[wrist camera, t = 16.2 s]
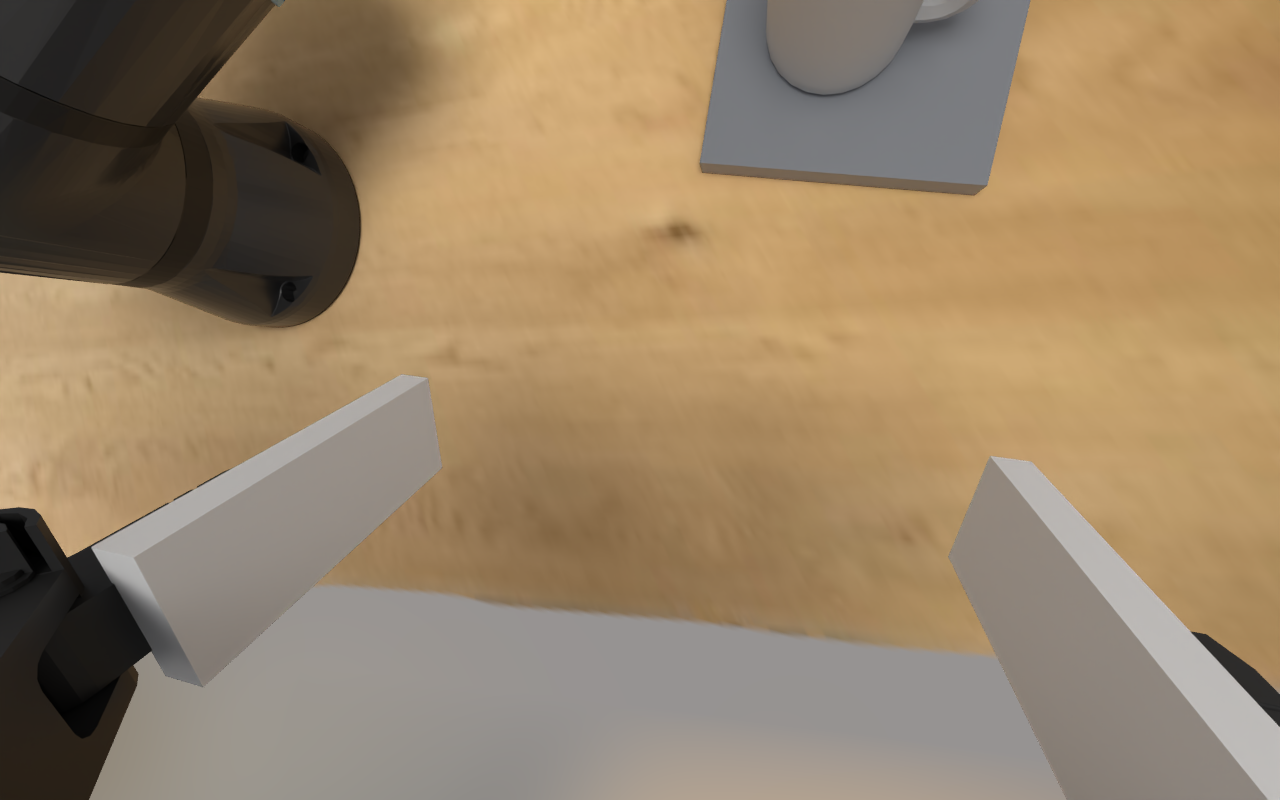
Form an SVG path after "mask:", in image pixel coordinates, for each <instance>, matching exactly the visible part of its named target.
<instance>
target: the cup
mask: <svg viewBox="0 0 1280 800" xmlns="http://www.w3.org/2000/svg"><path fill="white" fill-rule="evenodd" d="M977 1H979V0H768V1H767V25H766V38H767V45H768V49H769V54H770V58H771V60H772V62H773V64H774V65H775V67H776V69H777V71H778V73H779V74H780V75H781V76H782V77H784V78H785V79H786V80H787V81H788V82H789V83H790V84H791V85H793V86H795V87H797V88H799V89H801V90H803V91H805V92H810V93H815V94H821V95H827V94H838V93H843V92H846V91H849V90H852V89H855V88H858V87H860V86H862V85H863V84H865V83H867V82H868V81H870V80H871V79H873V78H874V77H876V76H877V75H878V74H879V73H880V72H881V71H882V70H883V69H884V68H885V67H886V66H887V65H888V64H889V63H890V62H891V61H892V60H893V58H894V56H895V55H896V53H897V52H898V50H899V48H900V47H901V45H902V43H903V42H904V40H905V38H906V36H907V34H908V32H909V30H910V28H911V26H912V25H913V23H928V22H933V21H938V20H943V19H947V18H949V17H951V16H953V15H956V14H958V13H960V12H963V11H965V10H966V9H968V8H969V7H970V6H972V5H973V4H975V3H976V2H977Z"/></svg>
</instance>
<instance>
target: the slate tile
mask: <svg viewBox="0 0 1280 800" xmlns="http://www.w3.org/2000/svg"><path fill="white" fill-rule="evenodd" d="M767 1H768V0H727V2H726V8H725V14H724V20H723V26H722V32H721V38H720V45H719V51H718V57H717V63H716V69H715V75H714V81H713V87H712V93H711V99H710V105H709V111H708V117H707V123H706V129H705V135H704V141H703V147H702V153H701V159H700V165H701V169H702V173H714V174H726V175H738V176H750V177H762V178H774V179H786V180H798V181H810V182H822V183H834V184H846V185H858V186H870V187H882V188H894V189H906V190H918V191H930V192H942V193H954V194H966V195H975V194H976V193H978V192H979V191H980V190H982V189H983V188H985V187H986V186H987V184H988V180H989V176H990V171H991V167H992V163H993V159H994V154H995V150H996V146H997V141H998V137H999V133H1000V129H1001V124H1002V120H1003V116H1004V111H1005V107H1006V103H1007V98H1008V94H1009V90H1010V86H1011V81H1012V77H1013V73H1014V68H1015V64H1016V60H1017V56H1018V51H1019V47H1020V43H1021V38H1022V34H1023V30H1024V26H1025V21H1026V17H1027V13H1028V8H1029V4H1030V0H979V1H977V2H976V3H975V4H973V5H972V6H970V7H969V8H968V9H966V10H965V11H963V12H960V13H958V14H956V15H953V16H951V17H949V18H947V19H943V20H938V21H933V22H928V23H913V25H912V26H911V28H910V30H909V32H908V34H907V36H906V38H905V40H904V42H903V43H902V45H901V47H900V48H899V50H898V52H897V53H896V55H895V56H894V58H893V60H892V61H891V62H890V63H889V64H888V65H887V66H886V67H885V68H884V69H883V70H882V71H881V72H880V73H879V74H878V75H877V76H876V77H874V78H873V79H871V80H870V81H868V82H867V83H865V84H863V85H862V86H860V87H858V88H855V89H852V90H849V91H846V92H843V93H838V94H827V95H821V94H815V93H810V92H805V91H803V90H801V89H799V88H797V87H795V86H793V85H791V84H790V83H789V82H788V81H787V80H786V79H785V78H784V77H782V76H781V75H780V74H779V73H778V71H777V69H776V67H775V65H774V64H773V62H772V60H771V58H770V54H769V49H768V45H767V38H766V25H767Z"/></svg>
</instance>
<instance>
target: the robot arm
mask: <svg viewBox="0 0 1280 800" xmlns="http://www.w3.org/2000/svg"><path fill="white" fill-rule="evenodd" d="M284 1H285V0H0V272H1V273H10V274H19V275H29V276H38V277H47V278H57V279H66V280H75V281H84V282H94V283H103V284H114V285H122V286H130V287H138V288H145V289H149V290H152V291H155V292H157V293H160V294H162V295H165V296H167V297H170V298H172V299H175V300H178V301H180V302H183V303H185V304H188V305H190V306H193V307H195V308H198V309H201V310H203V311H206V312H208V313H211V314H213V315H216V316H218V317H221V318H224V319H226V320H229V321H232V322H236V323H241V324H246V325H255V326H268V327H288V326H294V325H298V324H301V323H303V322H306V321H308V320H310V319H312V318H314V317H315V316H317V315H318V314H320V313H321V312H322V311H323V310H325V309H326V308H327V307H328V306H329V305H330V304H331V303H332V302H333V301H334V299H335V298H336V297H337V296H338V294H339V293H340V291H341V290H342V288H343V287H344V285H345V283H346V281H347V279H348V277H349V275H350V272H351V270H352V267H353V264H354V261H355V257H356V253H357V248H358V241H359V210H358V203H357V198H356V194H355V190H354V187H353V184H352V181H351V179H350V176H349V174H348V172H347V170H346V168H345V166H344V164H343V162H342V161H341V159H340V158H339V156H338V155H337V154H336V152H335V151H334V150H333V149H332V148H331V146H330V145H329V144H328V143H327V142H326V141H325V140H323V139H322V138H321V137H320V136H318V135H317V134H315V133H314V132H312V131H311V130H309V129H307V128H305V127H303V126H301V125H299V124H297V123H295V122H294V121H292V120H290V119H288V118H286V117H284V116H282V115H279V114H277V113H274V112H271V111H268V110H265V109H260V108H255V107H249V106H244V105H238V104H232V103H226V102H221V101H215V100H209V99H203V98H197V96H198V95H199V94H200V93H201V91H202V90H203V89H204V88H205V87H206V85H207V84H208V83H209V82H210V80H211V79H212V78H213V77H214V76H215V75H216V73H217V72H218V71H219V70H220V69H221V68H222V66H223V65H224V64H225V63H226V62H227V61H228V59H229V58H230V57H231V56H232V55H233V54H234V52H235V51H236V50H237V49H238V48H239V47H240V45H241V44H242V43H243V42H244V41H245V40H246V38H247V37H248V36H249V35H250V34H251V33H252V31H253V30H254V29H255V28H256V27H257V26H258V24H259V23H260V22H261V21H262V20H263V19H264V17H265V16H266V15H267V14H268V13H269V12H270V10H271V9H272V8H273V7H274V6H275V5H277V6H278V7H280V6H281V5H282V4H283V3H284ZM441 468H442V463H441V456H440V450H439V444H438V438H437V431H436V425H435V419H434V413H433V406H432V400H431V394H430V388H429V381H428V378H425V377H418V376H410V375H403V374H401V375H400V376H398V377H396V378H394V379H392V380H391V381H389V382H387V383H385V384H383V385H382V386H380V387H378V388H376V389H374V390H373V391H371V392H369V393H367V394H365V395H364V396H362V397H360V398H358V399H356V400H355V401H353V402H351V403H349V404H347V405H346V406H344V407H342V408H340V409H338V410H337V411H335V412H333V413H331V414H329V415H328V416H326V417H324V418H322V419H320V420H319V421H317V422H315V423H313V424H311V425H310V426H308V427H306V428H304V429H302V430H301V431H299V432H297V433H295V434H293V435H292V436H290V437H288V438H286V439H284V440H283V441H281V442H279V443H277V444H275V445H274V446H272V447H270V448H268V449H266V450H265V451H263V452H261V453H259V454H257V455H256V456H254V457H252V458H250V459H248V460H247V461H245V462H243V463H241V464H239V465H238V466H236V467H234V468H232V469H229V470H227V471H224V472H223V473H221V474H219V475H217V476H215V477H214V478H212V479H210V480H208V481H206V482H204V483H203V484H201V485H199V486H197V488H196V489H194V490H190V491H188V492H186V493H185V494H183V495H181V496H179V497H177V498H176V499H174V501H173V502H171V503H167V504H165V505H163V506H161V507H159V508H157V509H156V510H154V511H152V512H150V513H148V514H147V515H145V516H143V517H141V518H139V519H138V520H136V521H134V522H132V523H130V524H129V525H127V526H125V527H123V528H121V529H120V530H118V531H116V532H114V533H112V534H110V535H109V536H107V537H105V538H103V539H101V540H100V541H98V542H96V543H94V544H92V545H91V546H89V547H87V548H85V549H83V550H82V551H80V552H78V553H76V554H74V555H72V556H70V557H68V558H67V557H66V555H65V554H64V552H63V551H62V549H61V547H60V546H59V544H58V542H57V541H56V539H55V538H54V536H53V534H52V533H51V531H50V529H49V528H48V526H47V525H46V523H45V521H44V520H43V518H42V516H41V515H40V514H39V513H38V512H37V511H36V510H35V509H28V508H20V507H18V508H9V509H0V800H89V798H90V796H91V794H92V791H93V789H94V786H95V784H96V782H97V779H98V777H99V774H100V772H101V770H102V767H103V765H104V763H105V760H106V758H107V755H108V753H109V751H110V748H111V746H112V743H113V741H114V739H115V736H116V734H117V732H118V729H119V727H120V724H121V722H122V720H123V717H124V715H125V713H126V710H127V708H128V705H129V703H130V701H131V698H132V696H133V694H134V691H135V689H136V686H137V681H138V672H137V671H136V669H135V668H134V666H133V665H134V664H135V663H137V662H138V661H139V660H140V659H142V658H143V657H144V656H146V655H147V654H148V653H149V652H152V653H153V655H154V657H155V658H156V660H157V662H158V664H159V665H160V667H161V669H162V670H163V672H164V674H165V676H168V677H171V678H174V679H177V680H181V681H185V682H188V683H191V684H194V685H198V686H201V687H204V686H205V685H206V684H207V683H208V682H209V681H210V680H212V679H213V678H214V677H215V676H216V675H217V674H218V673H219V672H220V671H221V670H222V669H224V667H226V666H227V665H228V664H229V663H230V662H231V661H232V660H233V659H234V658H236V657H237V656H238V655H239V654H240V653H241V652H242V651H243V650H244V649H245V648H246V647H248V646H249V645H250V644H251V643H252V642H253V641H254V640H255V639H256V638H257V637H258V636H260V634H262V633H263V632H264V631H265V630H266V629H267V628H268V627H269V626H270V625H271V624H273V623H274V622H275V621H276V620H277V619H278V618H279V617H280V616H281V615H282V614H283V613H285V612H286V611H287V610H288V609H289V608H290V607H291V606H292V605H293V604H294V603H295V602H296V601H298V600H299V599H300V598H301V597H302V596H303V595H304V594H305V593H306V592H307V591H308V590H310V589H311V588H312V587H313V586H314V585H315V584H316V583H317V582H318V581H319V580H321V579H322V578H323V577H324V576H325V575H326V574H327V573H328V572H329V571H330V570H331V569H332V568H334V567H335V566H336V565H337V564H338V563H339V562H340V561H341V560H342V559H343V558H344V557H346V556H347V555H348V554H349V553H350V552H351V551H352V550H353V549H354V548H355V547H356V546H358V545H359V544H360V543H361V542H362V541H363V540H364V539H365V538H366V537H367V536H368V535H370V534H371V533H372V532H373V531H374V530H375V529H376V528H377V527H378V526H379V525H380V524H382V523H383V522H384V521H385V520H386V519H387V518H388V517H389V516H390V515H391V514H392V513H393V512H395V511H396V510H397V509H398V508H399V507H400V506H401V505H402V504H403V503H404V502H405V501H407V500H408V499H409V498H410V497H411V496H412V495H413V494H414V493H415V492H416V491H417V490H419V489H420V488H421V487H422V486H423V485H424V484H425V483H426V482H427V481H428V480H429V479H431V478H432V477H433V476H434V475H435V474H436V473H437V472H438V471H439V470H440V469H441ZM948 557H949V559H950V561H951V563H952V565H953V567H954V569H955V571H956V573H957V575H958V578H959V580H960V582H961V584H962V586H963V588H964V590H965V592H966V594H967V596H968V598H969V600H970V602H971V604H972V606H973V608H974V610H975V612H976V614H977V617H978V619H979V621H980V623H981V625H982V627H983V629H984V631H985V633H986V635H987V637H988V639H989V641H990V643H991V645H992V647H993V649H994V651H995V654H996V656H997V658H998V660H999V662H1000V664H1001V666H1002V668H1003V670H1004V672H1005V674H1006V676H1007V678H1008V680H1009V682H1010V684H1011V686H1012V688H1013V690H1014V692H1015V695H1016V696H1017V699H1018V701H1019V703H1020V705H1021V707H1022V709H1023V711H1024V713H1025V715H1026V717H1027V719H1028V721H1029V723H1030V725H1031V727H1032V730H1033V732H1034V734H1035V736H1036V738H1037V740H1038V741H1039V744H1040V746H1041V748H1042V750H1043V752H1044V754H1045V756H1046V758H1047V760H1048V762H1049V764H1050V766H1051V769H1052V771H1053V773H1054V774H1055V777H1056V779H1057V781H1058V783H1059V785H1060V787H1061V789H1062V791H1063V793H1064V795H1065V797H1066V799H1067V800H1280V694H1279V693H1278V692H1277V691H1276V690H1275V689H1274V688H1273V687H1272V686H1271V685H1270V684H1269V683H1268V682H1267V681H1266V680H1265V679H1264V678H1263V677H1262V676H1261V675H1260V674H1259V673H1258V672H1257V671H1256V670H1255V669H1254V668H1252V667H1251V666H1249V665H1248V664H1247V663H1245V662H1244V661H1242V660H1241V659H1240V658H1238V657H1237V656H1236V655H1234V654H1233V653H1231V652H1230V651H1229V650H1227V649H1226V648H1224V647H1223V646H1222V645H1220V644H1219V643H1218V642H1216V641H1215V640H1213V639H1212V638H1211V637H1209V636H1208V635H1206V634H1202V633H1196V632H1191V631H1189V630H1188V629H1187V628H1186V626H1185V625H1184V624H1183V623H1182V622H1181V621H1180V620H1179V619H1178V618H1177V617H1176V616H1175V615H1174V614H1173V613H1172V612H1171V610H1170V609H1169V608H1168V607H1167V606H1166V605H1165V604H1164V603H1163V602H1162V601H1161V600H1160V599H1159V598H1158V597H1157V596H1156V594H1155V593H1154V592H1153V591H1152V590H1151V589H1150V588H1149V587H1148V586H1147V585H1146V584H1145V583H1144V582H1143V581H1142V579H1141V578H1140V577H1139V576H1138V575H1137V574H1136V573H1135V572H1134V571H1133V570H1132V569H1131V568H1130V567H1129V566H1128V565H1127V563H1126V562H1125V561H1124V560H1123V559H1122V558H1121V557H1120V556H1119V555H1118V554H1117V553H1116V552H1115V551H1114V550H1113V548H1112V547H1111V546H1110V545H1109V544H1108V543H1107V542H1106V541H1105V540H1104V539H1103V538H1102V537H1101V536H1100V535H1099V534H1098V532H1097V531H1096V530H1095V529H1094V528H1093V527H1092V526H1091V525H1090V524H1089V523H1088V522H1087V521H1086V520H1085V519H1084V517H1083V516H1082V515H1081V514H1080V513H1079V512H1078V511H1077V510H1076V509H1075V508H1074V507H1073V506H1072V505H1071V504H1070V503H1069V501H1068V500H1067V499H1066V498H1065V497H1064V496H1063V495H1062V494H1061V493H1060V492H1059V491H1058V490H1057V489H1056V488H1055V486H1054V485H1053V484H1052V483H1051V482H1050V481H1049V480H1048V479H1047V478H1046V477H1045V476H1044V475H1043V474H1042V473H1041V472H1040V470H1039V469H1038V468H1037V467H1036V466H1035V465H1034V464H1033V463H1032V462H1030V461H1023V460H1016V459H1009V458H1002V457H994V456H990V457H989V460H988V462H987V464H986V467H985V469H984V472H983V474H982V476H981V479H980V481H979V484H978V486H977V489H976V491H975V493H974V496H973V498H972V501H971V503H970V505H969V508H968V510H967V513H966V515H965V518H964V520H963V522H962V525H961V527H960V530H959V532H958V534H957V537H956V539H955V542H954V544H953V547H952V549H951V551H950V554H949V556H948Z"/></svg>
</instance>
